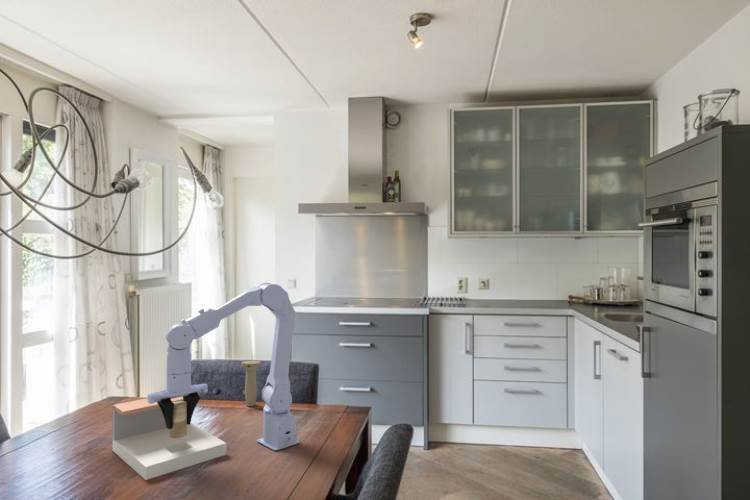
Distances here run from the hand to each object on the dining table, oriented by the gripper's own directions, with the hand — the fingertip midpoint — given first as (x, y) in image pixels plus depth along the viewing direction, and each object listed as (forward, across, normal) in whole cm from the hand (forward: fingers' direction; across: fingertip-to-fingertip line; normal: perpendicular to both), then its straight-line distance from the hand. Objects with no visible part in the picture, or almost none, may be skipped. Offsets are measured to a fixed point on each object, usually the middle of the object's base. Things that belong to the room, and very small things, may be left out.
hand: (178, 425), depth 120 cm
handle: (+9, -36, -26) cm, 45 cm away
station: (+8, 0, -6) cm, 10 cm away
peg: (+2, 0, 0) cm, 2 cm away
